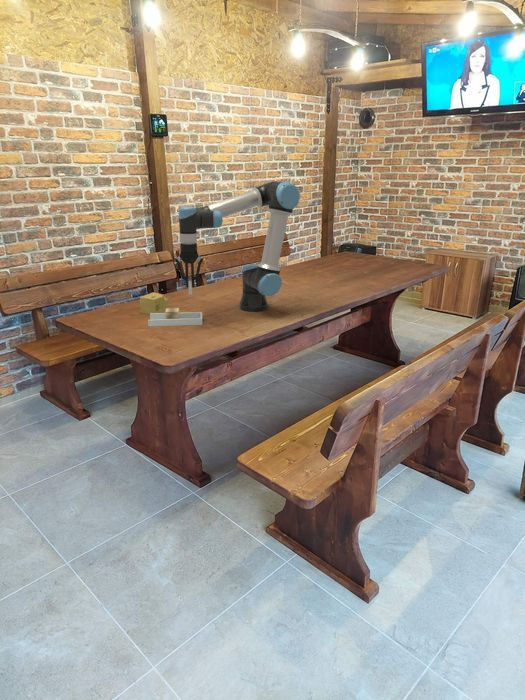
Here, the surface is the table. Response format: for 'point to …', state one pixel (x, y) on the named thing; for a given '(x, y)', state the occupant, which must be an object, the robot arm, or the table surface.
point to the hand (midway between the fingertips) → (190, 294)
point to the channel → (185, 319)
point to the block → (172, 313)
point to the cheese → (153, 303)
